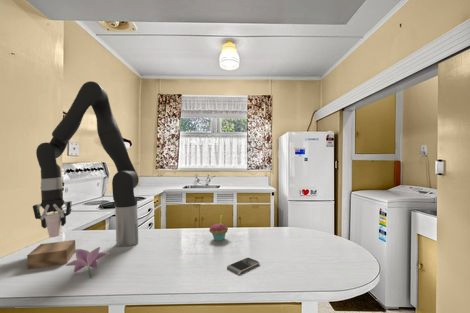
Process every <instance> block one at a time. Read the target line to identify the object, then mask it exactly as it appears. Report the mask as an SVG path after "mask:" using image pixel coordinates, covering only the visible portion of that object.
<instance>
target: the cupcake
mask: <svg viewBox="0 0 470 313" xmlns="http://www.w3.org/2000/svg"><path fill="white" fill-rule="evenodd" d="M222 220H223V215H222V214H221V215H220V218H219V223H214V224H212V225H211V226H210V227H209V231H208V232H210V233H211V235H212V237H213V240H214V241H218V242H219V241H224V239H225V237H226V234H227V233H228V230H229V227H228V226H227V225H226V224H224V223H223V222H222Z"/></svg>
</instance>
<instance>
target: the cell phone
mask: <svg viewBox="0 0 470 313" xmlns="http://www.w3.org/2000/svg"><path fill="white" fill-rule="evenodd" d="M258 266H260V261H259V260H256V259H253V258H250V257H245V258H243V259H241V260H239V261H236V262H233V263H231V264H229V265H227V266H226V270H227V271H229V272H231V273H233V274H235V275H241V274H243V273H245V272H248V271H250V270H252V269H254V268H255V267H258Z"/></svg>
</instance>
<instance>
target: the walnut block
mask: <svg viewBox="0 0 470 313" xmlns="http://www.w3.org/2000/svg"><path fill="white" fill-rule="evenodd" d="M75 251H76V239H73V240H72V239H71V240H63V241H57V242H47V243H40V244H39V245H38V246H37V247H35V248H34V249H33V250H31V251H30V252H29V253H28V254H27V255H26V258H27V259H26V260H27V261H26V262H27V269H28V270H31V269H36V268H37V269H38V268H42V267H50V266H51V267H52V266H57V264H58V265H62V264H63V263H65V264H68V263H69V261H70V259H71V258H72V257H73V256H74V255H75V254H76V253H75ZM63 265H64V264H63Z"/></svg>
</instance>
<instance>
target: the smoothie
mask: <svg viewBox="0 0 470 313" xmlns="http://www.w3.org/2000/svg"><path fill="white" fill-rule="evenodd" d="M44 218H45V220H46V225H47V227H46V229H47V233H48V238H50V239H51V238H52V239H53V238H56V237H59V236H60V233H61V216H60V214H59V213H58V212H53V211H52V212H49V213H48V214H47V215H46V216H44Z"/></svg>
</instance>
